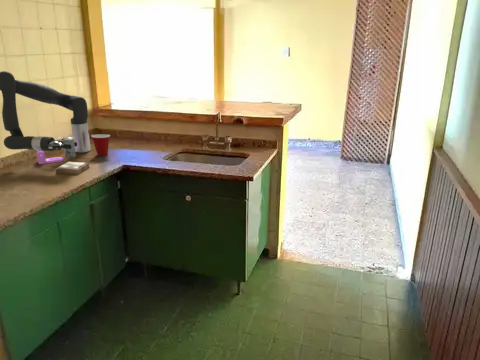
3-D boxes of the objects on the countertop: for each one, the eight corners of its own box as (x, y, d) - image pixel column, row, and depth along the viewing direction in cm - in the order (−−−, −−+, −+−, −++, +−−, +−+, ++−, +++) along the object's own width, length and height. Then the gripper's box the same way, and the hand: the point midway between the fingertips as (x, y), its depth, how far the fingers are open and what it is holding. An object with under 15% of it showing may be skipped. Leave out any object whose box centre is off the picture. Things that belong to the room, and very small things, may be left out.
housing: (68, 154, 219) (66, 136, 216) (78, 155, 218) (76, 136, 215) (62, 157, 214) (60, 138, 211) (72, 158, 213) (70, 139, 210)
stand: (68, 166, 225) (67, 161, 224) (89, 167, 224) (88, 162, 223) (56, 173, 214) (55, 167, 213) (77, 174, 213) (77, 168, 212)
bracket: (38, 164, 228) (37, 152, 226) (38, 162, 233) (36, 150, 231) (64, 161, 234) (62, 149, 232) (62, 158, 239) (61, 147, 237)
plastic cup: (114, 152, 252) (113, 133, 248) (107, 157, 242) (105, 137, 238) (97, 151, 253) (95, 132, 249) (90, 156, 243) (87, 136, 239)
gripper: (34, 139, 208) (65, 141, 206) (50, 133, 222) (80, 135, 219) (36, 154, 211) (67, 156, 208) (52, 147, 224) (81, 149, 222)
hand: (73, 145), depth 214 cm, fingers closed on housing, 5 cm apart
